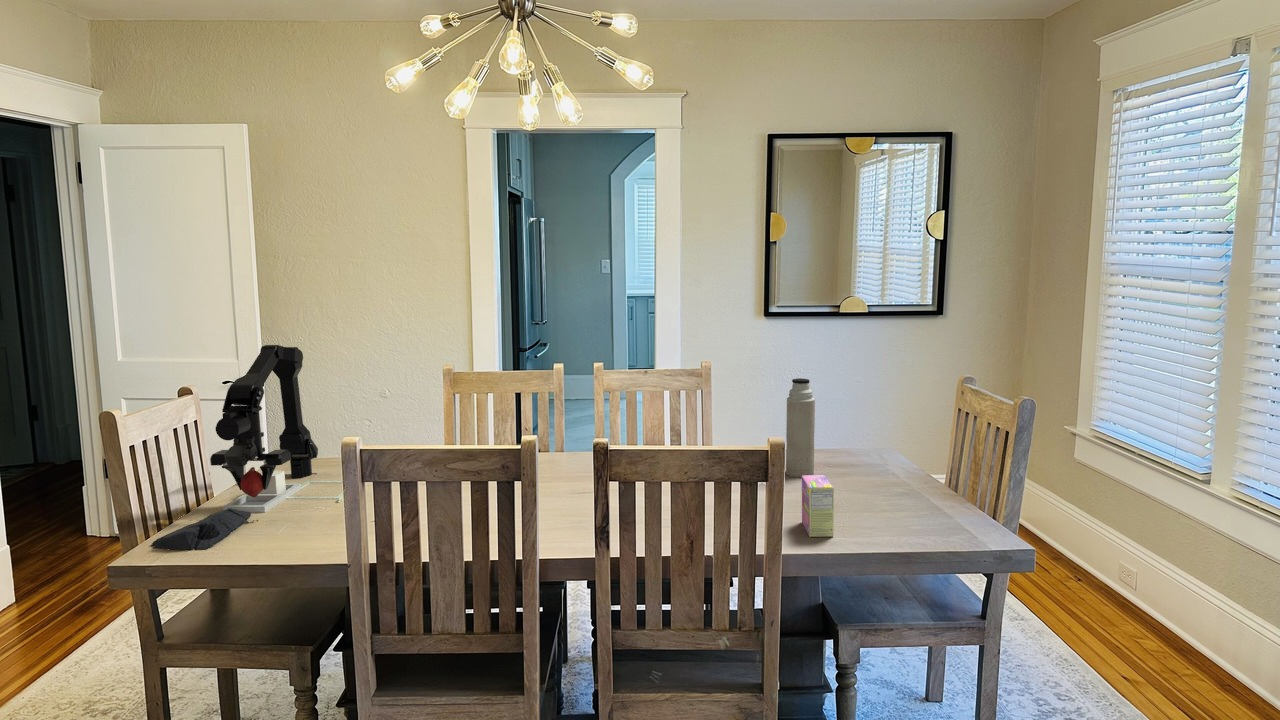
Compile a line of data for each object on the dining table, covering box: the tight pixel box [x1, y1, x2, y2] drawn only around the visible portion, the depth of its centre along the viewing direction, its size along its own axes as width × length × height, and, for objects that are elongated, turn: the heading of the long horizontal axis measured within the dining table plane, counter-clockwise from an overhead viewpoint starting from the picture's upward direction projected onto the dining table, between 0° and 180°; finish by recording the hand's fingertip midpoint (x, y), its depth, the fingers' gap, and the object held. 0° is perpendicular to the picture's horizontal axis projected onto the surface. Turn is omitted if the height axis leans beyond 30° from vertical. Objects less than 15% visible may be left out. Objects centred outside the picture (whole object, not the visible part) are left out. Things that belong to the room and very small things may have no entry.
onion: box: [240, 466, 263, 497], centre depth 209 cm, size 6×6×8 cm
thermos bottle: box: [785, 378, 816, 478], centre depth 234 cm, size 8×8×28 cm
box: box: [801, 474, 835, 538], centre depth 189 cm, size 10×6×12 cm, turn 178°
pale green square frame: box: [285, 480, 344, 503], centre depth 223 cm, size 16×16×1 cm
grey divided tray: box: [221, 483, 302, 514], centre depth 215 cm, size 20×11×2 cm, turn 177°
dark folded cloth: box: [150, 509, 252, 551], centre depth 193 cm, size 15×22×5 cm
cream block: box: [259, 470, 286, 494], centre depth 219 cm, size 5×5×6 cm
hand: (253, 489), depth 210 cm, fingers closed on onion, 6 cm apart
